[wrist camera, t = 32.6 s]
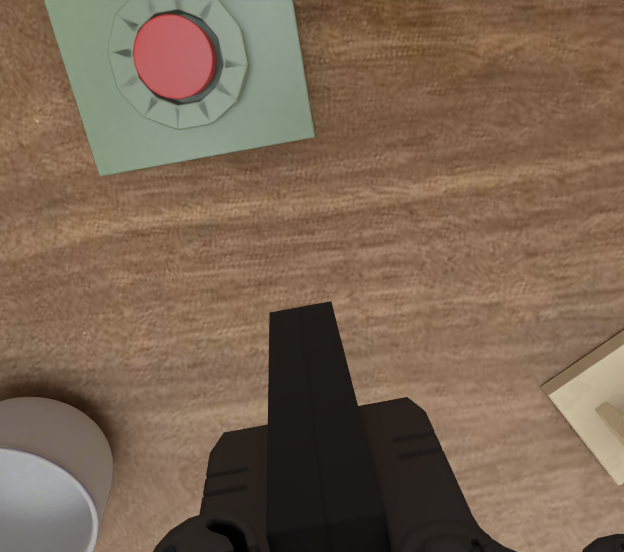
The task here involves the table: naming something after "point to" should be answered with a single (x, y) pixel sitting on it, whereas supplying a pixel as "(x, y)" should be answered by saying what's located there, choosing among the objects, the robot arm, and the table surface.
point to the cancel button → (174, 56)
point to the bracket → (596, 402)
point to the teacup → (51, 477)
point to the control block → (193, 110)
